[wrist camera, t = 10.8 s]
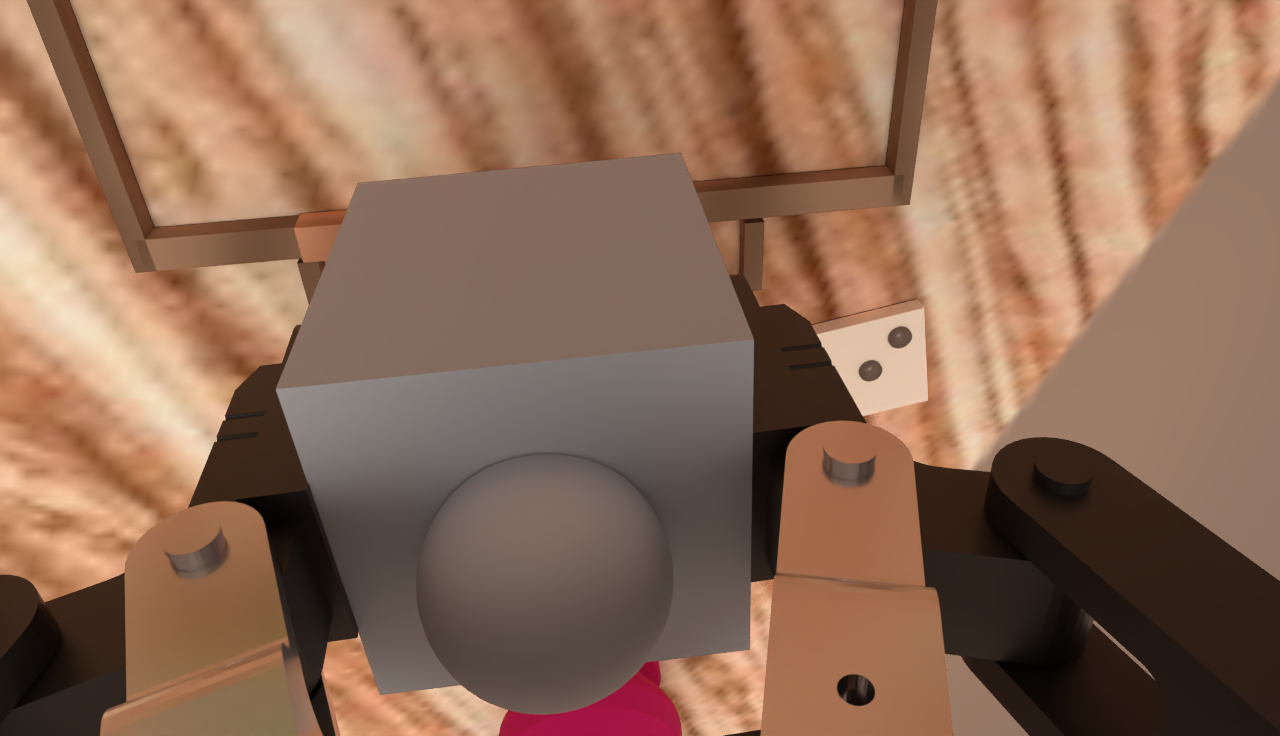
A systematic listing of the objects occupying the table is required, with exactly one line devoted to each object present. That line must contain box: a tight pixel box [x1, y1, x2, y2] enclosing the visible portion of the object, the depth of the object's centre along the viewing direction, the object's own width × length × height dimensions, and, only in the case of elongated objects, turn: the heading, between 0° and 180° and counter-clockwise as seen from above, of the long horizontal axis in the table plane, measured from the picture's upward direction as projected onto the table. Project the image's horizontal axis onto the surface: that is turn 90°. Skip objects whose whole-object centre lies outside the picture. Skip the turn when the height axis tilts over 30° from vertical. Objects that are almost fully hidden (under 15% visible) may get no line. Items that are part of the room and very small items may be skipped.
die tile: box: [812, 299, 928, 416], centre depth 32 cm, size 4×4×1 cm
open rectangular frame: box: [27, 0, 937, 304], centre depth 25 cm, size 23×14×1 cm, turn 92°
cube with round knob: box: [276, 153, 754, 714], centre depth 11 cm, size 4×4×7 cm
